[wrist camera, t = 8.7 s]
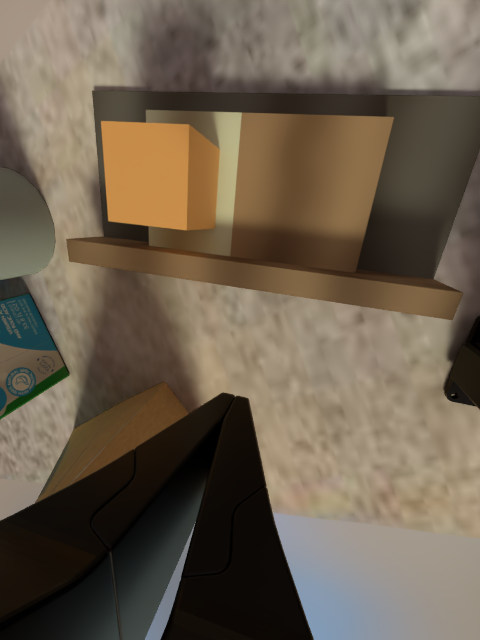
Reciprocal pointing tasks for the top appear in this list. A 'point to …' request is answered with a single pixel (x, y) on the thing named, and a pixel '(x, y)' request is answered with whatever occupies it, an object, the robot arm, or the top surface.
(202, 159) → the block
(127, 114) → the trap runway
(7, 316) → the milk carton
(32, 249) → the spray bottle
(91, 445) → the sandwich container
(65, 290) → the top surface
